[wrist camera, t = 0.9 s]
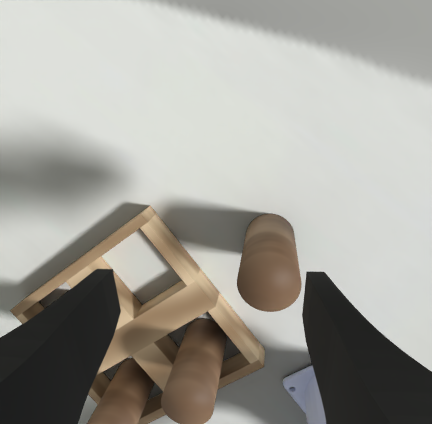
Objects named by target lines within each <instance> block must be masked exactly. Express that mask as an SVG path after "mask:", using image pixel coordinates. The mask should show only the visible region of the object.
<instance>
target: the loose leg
mask: <svg viewBox="0 0 432 424" xmlns="http://www.w3.org/2000/svg"><path fill="white" fill-rule="evenodd" d="M237 287H238V291H239V293H240V295H241V297H242V298H243V299H244V301H245V302H246V303H248V304H249V305H250V306H252V307H254V308H256V309H258V310H261V311H267V312H274V311H280V310H283V309H285V308H287V307H289V306H290V305H291V304H293V303H294V302H295V301H296V299H297V298H298V296H299V294H300V291H301V277H300V271H299V264H298V257H297V250H296V244H295V237H294V231H293V228H292V226H291V224H290V223H289V222H288V221H287V220H286V219H285V218H283V217H281V216H279V215H276V214H264V215H261V216H258V217H257V218H255V219H254V220H253V221H252V222H251V223H250V224H249V226H248V228H247V232H246V237H245V242H244V247H243V252H242V257H241V262H240V267H239V273H238V278H237Z"/></svg>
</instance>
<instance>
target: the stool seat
mask: <svg viewBox="0 0 432 424" xmlns="http://www.w3.org/2000/svg"><path fill="white" fill-rule="evenodd" d="M139 228H140V229H141V230H142V231H143V232H144V233H145V235H146V236H147V237H148V238H149V240H150V241H151V242H152V243H153V245H154V246H155V247H156V248H157V249H158V251H159V252H160V253H161V254H162V256H163V257H164V258H165V259H166V261H167V262H168V263H169V264H170V265H171V267H172V268H173V269H174V270H175V272H176V273H177V274H178V275H179V277H180V278H181V279H182V280H181V281H180V282H178V283H177V284H175V285H174V286H172V287H170V288H169V289H167V290H166V291H164V292H162V293H161V294H159V295H158V296H156V297H154V298H153V299H151V300H150V301H148V302H147V303H145V304H143V305H142V304H141V303H140V302H139V300H138V299H137V298H136V297H135V296H134V295H133V293H132V292H131V291H130V290H129V289H128V288H127V286H126V285H125V284H124V283H123V282H122V280H121V279H120V278H119V277H118V276H117V275H116V273H115V272H114V271H113V273H114V278H115V283H116V288H117V293H118V298H119V304H120V309H121V313H120V316H119V320H118V323H117V327H116V330H115V333H114V336H113V339H112V341H111V343H110V346H109V348H108V350H107V352H106V355H105V357H104V359H103V361H102V364H101V366H100V368H99V370H98V373H97V375H96V377H95V379H94V382H93V384H92V386H91V388H90V391H89V393H88V395H89V396H90V397H91V398H92V399H93V400H94V401H95V402H96V403H97V404H98V405H97V407H96V409H95V411H94V412H93V414H92V416H91V418H90V419H89V421H88V423H87V424H148V423H150V422H152V421H154V420H156V419H158V418H160V417H162V416H164V415H167V416H168V417H169V418H171V419H172V420H173V421H175V422H177V423H179V424H204V423H205V422H207V421H208V420H209V419H210V418H211V416H212V414H213V410H214V404H215V399H216V394H217V390H218V389H220V388H222V387H224V386H226V385H228V384H230V383H232V382H234V381H236V380H238V379H240V378H242V377H244V376H246V375H248V374H250V373H253V372H255V371H257V370H259V369H261V368H263V367H264V356H265V349H264V348H263V347H262V345H261V344H260V343H259V342H258V340H257V339H256V338H255V337H254V335H253V334H252V333H251V332H250V330H249V329H248V328H247V327H246V325H245V324H244V323H243V321H242V320H241V319H240V318H239V316H238V315H237V314H236V313H235V311H234V310H233V309H232V308H231V306H230V305H229V304H228V303H227V301H226V300H225V299H224V298H223V296H222V295H221V294H220V293H219V291H218V290H217V289H216V288H215V286H214V285H213V284H212V283H211V281H210V280H209V279H208V278H207V276H206V275H205V274H204V273H203V271H202V270H201V269H200V267H199V266H198V265H197V264H196V262H195V261H194V260H193V259H192V257H191V256H190V255H189V254H188V252H187V251H186V250H185V249H184V247H183V246H182V245H181V244H180V242H179V241H178V240H177V239H176V237H175V236H174V235H173V234H172V232H171V231H170V230H169V229H168V227H167V226H166V225H165V224H164V222H163V221H162V220H161V219H160V217H159V216H158V215H157V213H156V212H155V211H154V210H153V208H152V207H151V206H149V207H148V208H146V209H145V210H144V211H142V212H141V213H140V214H138V215H137V216H135V217H134V218H133V219H131V220H130V221H129V222H127V223H126V224H125V225H123V226H122V227H121V228H119V229H118V230H117V231H115V232H114V233H112V234H111V235H110V236H108V237H107V238H106V239H104V240H103V241H102V242H100V243H99V244H98V245H96V246H95V247H94V248H92V249H91V250H90V251H88V252H87V253H85V254H84V255H83V256H81V257H80V258H79V259H77V260H76V261H75V262H73V263H72V264H71V265H69V266H68V267H67V268H65V269H64V270H62V271H61V272H60V273H58V274H57V275H56V276H54V277H53V278H52V279H50V280H49V281H48V282H46V283H45V284H44V285H42V286H41V287H39V288H38V289H37V290H35V291H34V292H33V293H31V294H30V295H29V296H27V297H26V298H25V299H23V300H22V301H21V302H20V303H19V304H17V305H16V306H15V307H14V308H13V309H11V310H10V311H11V312H12V313H13V315H14V316H15V317H16V318H17V319H18V320H19V321H20V322H21V323H22V324H24V323H25V322H27V321H28V320H30V319H31V318H33V317H34V316H35V315H37V314H38V313H40V312H41V311H42V310H44V307H43V306H42V305H41V304H40V303H39V302H38V301H39V300H41V299H42V298H44V297H45V296H46V295H48V294H49V293H51V292H52V291H53V290H55V289H56V288H57V287H59V286H60V285H62V284H63V283H64V282H67V284H68V285H69V286H70V287H71V288H73V287H74V286H75V285H77V284H78V283H79V282H80V281H82V280H83V279H84V278H85V277H87V276H88V275H89V274H91V273H92V272H93V271H95V270H96V269H111V268H110V266H109V265H108V264H107V263H106V262H105V260H104V259H103V258H102V257H101V256H102V255H103V254H105V253H106V252H107V251H109V250H110V249H112V248H113V247H114V246H116V245H117V244H118V243H120V242H121V241H123V240H124V239H125V238H127V237H128V236H130V235H131V234H132V233H134V232H135V231H136V230H138V229H139ZM207 311H208V312H209V313H210V315H211V316H212V317H213V318H214V320H215V321H216V322H215V321H213V320H210V319H198V320H195V321H193V322H191V323H190V324H189V325H188V327H187V329H186V332H185V334H184V337H183V340H182V342H181V345H180V348H179V347H178V346H177V345H176V344H175V343H174V342H173V340H172V339H171V338H170V337H169V336H168V335H167V334H169V333H171V332H173V331H174V330H176V329H178V328H180V327H181V326H183V325H185V324H186V323H188V322H190V321H192V320H193V319H195V318H197V317H199V316H200V315H202V314H204V313H205V312H207ZM226 334H227V336H228V337H229V338H230V339H231V340H232V342H233V343H234V344H235V345H236V347H237V348H238V349H239V350H240V352H241V353H239V354H237V355H235V356H233V357H231V358H229V359H227V360H225V361H223V357H224V352H225V346H226V341H227V336H226ZM129 356H132V357H133V358H134V359H128V360H125V361H124V362H122V363H121V365H120V366H119V368H118V370H117V372H116V373H115V375H114V377H113V379H112V380H111V381H110V380H109V379H108V378H107V376H106V375H105V374H104V373H103V371H105V370H107V369H108V368H110V367H112V366H114V365H115V364H117V363H119V362H121V361H122V360H124V359H126V358H128V357H129ZM154 383H156V384H157V385H158V386H159V388H160V389H161V390H162V391H163V393H161V394H159V395H157V396H155V397H153V398H151V399H149V400H148V398H149V395H150V393H151V390H152V388H153V385H154Z"/></svg>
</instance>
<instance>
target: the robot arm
mask: <svg viewBox="0 0 432 424" xmlns="http://www.w3.org/2000/svg"><path fill="white" fill-rule="evenodd" d="M120 313H121V309H120V304H119V298H118V293H117V288H116V283H115V278H114V273H113V269H96V270H95V271H93V272H92V273H91V274H89V275H88V276H87V277H85V278H84V279H83V280H82V281H80V282H79V283H78V284H77V285H75V286H74V287H73V288H72V289H70V290H69V291H68V292H67V293H65V294H64V295H63V296H61V297H60V298H59V299H58V300H56V301H55V302H54V303H52V304H51V305H49V306H48V307H47V308H45V309H44V310H42V311H41V312H40V313H38V314H37V315H35V316H34V317H33V318H31V319H30V320H28V321H27V322H25V323H24V324H22V325H20V326H19V327H17V328H16V329H14V330H12V331H11V332H9V333H7V334H6V335H4V336H2V337H1V338H0V424H78V421H79V418H80V415H81V412H82V409H83V406H84V403H85V401H86V398H87V396H88V393H89V391H90V388H91V386H92V384H93V382H94V379H95V377H96V375H97V373H98V370H99V368H100V366H101V364H102V361H103V359H104V357H105V355H106V352H107V350H108V348H109V346H110V343H111V341H112V339H113V336H114V333H115V330H116V327H117V323H118V320H119V316H120ZM302 316H303V323H304V331H305V337H306V343H307V347H308V351H309V354H310V358H311V362H312V365H311V366H309V367H307V368H305V369H303V370H301V371H298V372H296V373H294V374H292V375H290V376H288V377H285V378H284V379H283V386H284V388H285V389H286V390H287V391H288V393H289V394H290V395H291V396H292V398H293V399H294V400H295V401H296V403H297V404H298V405H299V406H300V408H301V409H302V410H303V411H304V413H305V414H306V416H307V424H432V372H431V371H430V370H428V369H427V368H425V367H424V366H423V365H421V364H420V363H418V362H417V361H416V360H414V359H413V358H411V357H410V356H409V355H407V354H406V353H405V352H403V351H402V350H401V349H399V348H398V347H397V346H396V345H395V344H393V343H392V342H391V341H390V340H388V339H387V338H386V337H385V336H384V335H383V334H381V333H380V332H379V331H378V330H377V329H376V328H375V327H374V326H373V325H372V324H371V323H370V322H369V321H368V320H367V319H366V318H365V317H364V316H363V315H362V314H361V313H360V312H359V311H358V310H357V309H356V308H355V307H354V306H353V305H352V304H351V303H350V302H349V300H348V299H347V298H346V297H345V296H344V295H343V294H342V292H341V291H340V290H339V289H338V288H337V287H336V285H335V284H334V283H333V282H332V281H331V279H330V278H329V277H328V276H327V275H326V274H325V272H307V274H306V284H305V294H304V304H303V314H302ZM290 387H294V388H290Z"/></svg>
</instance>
